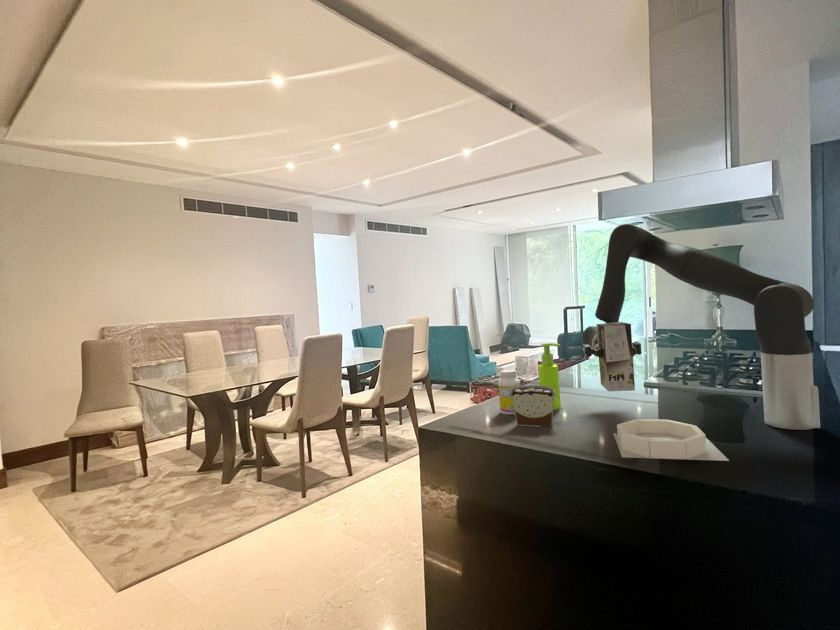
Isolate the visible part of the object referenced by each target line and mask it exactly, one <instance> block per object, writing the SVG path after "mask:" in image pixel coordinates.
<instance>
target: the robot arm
mask: <svg viewBox="0 0 840 630" xmlns="http://www.w3.org/2000/svg"><path fill="white" fill-rule="evenodd" d="M630 258H634V259H638V260H641V261H643V262H644V261H645V262H647V263H650V264H653V265H655V266H658V267H660V268H661V269H662V270H663V271H664V272H666V273H667V274H669V275H671V276H673V277H675V278H676V279H677V280H679V281H682V282H684V283H685V284H686V283H687V284H688V285H690V286H693V287H695V288H698V289H701V290H704V291H707V292H711V293H715V294H720V295H723V296H728V297H731V298H735V299H738V300H741V301H744V302H746V303H747V304H750V305H753V314H754V315H753V316H754V327H755V335H756V340H757V342H758V344H759V346H760V348H759V349H760V363H761V381H762V385H761V386H762V399H763V401H762V403H763V416H764V423H765V425H768V426H771V427H774V428H779V429H785V430H795V431H796V430H797V431H799V430H800V431H801V430H802V431H805V430H813V429H821V419H820V417H821V416H820V398H819V396H820V395H819V386H817V385H814V376H813V375H814V372H813V356H812V342H811V340H810V339H809V338H808V336H807V333H806V332H807V331H806V324H805V323H806V322H805V318H806V317H808V316H809V315H810V314H811V313H812V312H813V310H814V306H815V302H814V298H813V296H812V295H811V293H810V292H809V291H808V290H807V289H805V287H803V286H800V285H799V284H793V283H790V282H785V281H782V280H778V279H775V278H773V277H772V278H771V277H768V276H765V275H761V274H758V273H756V272H753V271H750V270H749V269H746V268H744V267H742V266H740V265H738V264H735V263H734V262H731V261H729V260H726V259H723V258H721V257H719V256H717V255H715V254H712V253H709V252H706V251H704V250H701V249H698V248H695V247H692V246H688V245H684V244H683V245H682V244H678V243H673V242H671V241H667V240H666V239H663V238H661V237H659V236H656V235H655V234H653V233H651V232H650V231H648V230H646V229H644V228H642V227H640V226H637V225H634V224H630V223H622V224H620V225H617V226H616V227H615V228H614V229H613V230H612V231H611V234H610V237H609V241H608V248H607V258H606V265H605V273H604V277H603V278H604V279H603V284H602V289H601V292H600V295H599V299H598V303H597V305H596V310H595V316H594V317H595V318H596V319H598V320H599V321H602V322H604V323H613V322H620V321H619V320H620V316H621V313H622V310H623V307H624V302H625V298H626V270H627V265H628V264H629V260H630ZM581 340H582V343H583V344H582V349H583V355H585V356H586V357H588V358H589V357H590V358H591V357H592V355H594V357H596V358H597V357H598V359H599V358H602V350H601V348H600V347H599V346H598V340H597V326H595V325H590V326H587V327H586V328H585V329H584V331H582V337H581ZM632 351H633V357H635V356H636V355H638V356H639V355H642V344H641V343H640V342H639V341H633V342H632Z"/></svg>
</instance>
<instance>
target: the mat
mask: <svg viewBox="0 0 840 630" xmlns="http://www.w3.org/2000/svg"><path fill="white" fill-rule="evenodd" d="M612 434H613V436H614V439H615V442H616V444H617V447H618V450H619V453H620V456H621V458H629V459H630V458H631V459H632V458H633V459H635V458H636V459H652V458H651V457H650V458H648V457H645V456H642V455H638V454H635V453H632V452H628V451H625V450H622V449H621V447H620V444H619V441H618V434H617V433H612ZM706 451H707V452H705V453H702V454H700V455H697V456H694V457H692V458H689V459H686V460H687V461H689V460H690V461H693V460H695V461H718V462H719V461H725V462H730V460H729V458H727V457H726V455H724V453H722V451H720V450H719V448H717V447H716V446H715V445H714V444H713V443H712V442H711V440H709V439H708V438H707V437H706ZM657 459H662V460H665V459H664V458H656V460H657Z"/></svg>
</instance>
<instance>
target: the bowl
mask: <svg viewBox="0 0 840 630" xmlns="http://www.w3.org/2000/svg"><path fill="white" fill-rule="evenodd" d="M616 430H617V434H618V441H619V444H620V447H621V449H622V450H625V451H628V452H632V453H635V454H638V455H642V456H645V457H648V458H647V459H657V458H664V459H663V460H665V459H666V460H687V459H689V458H692V457H694V456H697V455H700V454H702V453H705V452H707V451H706V438H707V436H706V433H704V432H703V431H702V430H701V429H700V428H699V427H698V426H697V425H694V424H690V423H685V422H681V421H680V422H679V421H676V420H671V419H660V418H659V419H653V418H652V419H651V418H650V419H649V418H646V419H644V418H642V419H641V418H640V419H639V418H636V419H631V420H629V421H625V422H622V423H618V424H616ZM650 457H651V458H650Z"/></svg>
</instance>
